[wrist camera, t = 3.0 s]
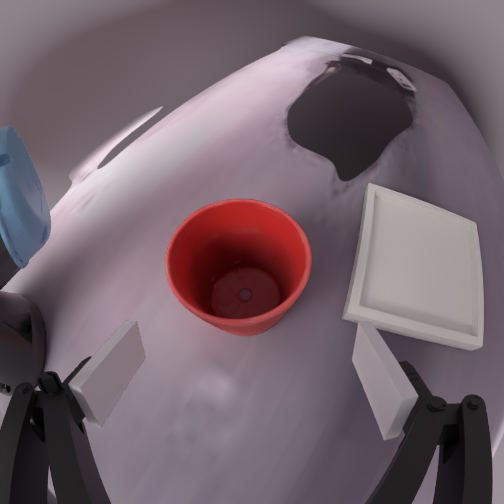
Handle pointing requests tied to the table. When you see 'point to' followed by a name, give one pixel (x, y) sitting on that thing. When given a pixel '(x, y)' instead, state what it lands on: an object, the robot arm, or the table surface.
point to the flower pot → (239, 264)
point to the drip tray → (417, 271)
